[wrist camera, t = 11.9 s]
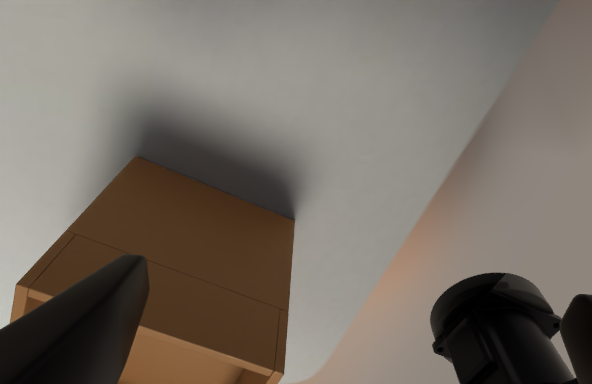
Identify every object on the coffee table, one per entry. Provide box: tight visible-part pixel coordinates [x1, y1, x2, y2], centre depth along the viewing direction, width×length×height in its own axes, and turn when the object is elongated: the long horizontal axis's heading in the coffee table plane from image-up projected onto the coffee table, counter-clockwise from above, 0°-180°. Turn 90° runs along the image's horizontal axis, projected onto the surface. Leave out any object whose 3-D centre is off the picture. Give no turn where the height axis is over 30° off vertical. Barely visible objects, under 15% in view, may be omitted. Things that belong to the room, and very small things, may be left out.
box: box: [10, 156, 295, 384], centre depth 20 cm, size 9×9×10 cm
